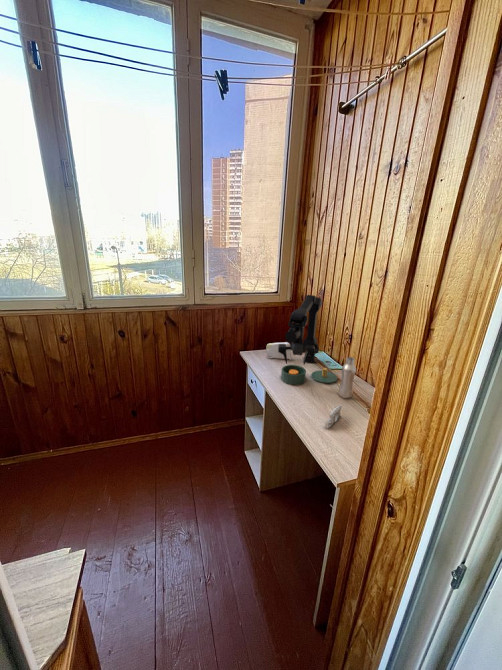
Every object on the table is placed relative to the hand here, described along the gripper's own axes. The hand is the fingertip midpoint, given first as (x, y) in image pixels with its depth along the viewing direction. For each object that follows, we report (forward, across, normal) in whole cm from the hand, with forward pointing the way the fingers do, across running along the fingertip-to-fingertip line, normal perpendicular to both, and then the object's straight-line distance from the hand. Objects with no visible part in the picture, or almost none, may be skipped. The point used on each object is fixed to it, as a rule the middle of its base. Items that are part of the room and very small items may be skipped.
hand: (295, 363), depth 154 cm
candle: (+8, 0, 0) cm, 9 cm away
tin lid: (+8, +16, +3) cm, 19 cm away
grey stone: (+9, +14, -36) cm, 40 cm away
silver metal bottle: (+9, +24, -15) cm, 29 cm away
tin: (+9, -1, 0) cm, 9 cm away
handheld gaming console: (+9, -8, +26) cm, 28 cm away
